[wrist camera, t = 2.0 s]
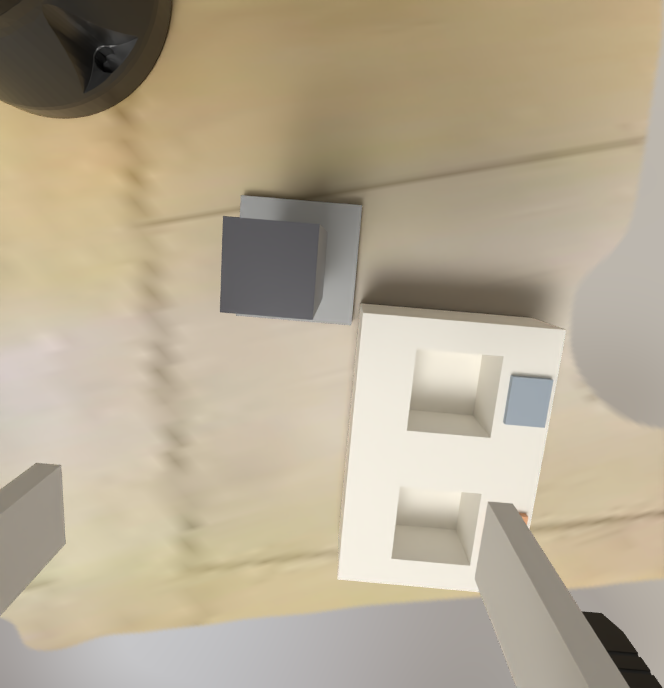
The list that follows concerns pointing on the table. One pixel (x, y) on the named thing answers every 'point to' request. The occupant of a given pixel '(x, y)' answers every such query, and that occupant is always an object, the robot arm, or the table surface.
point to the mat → (339, 251)
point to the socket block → (440, 439)
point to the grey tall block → (272, 267)
